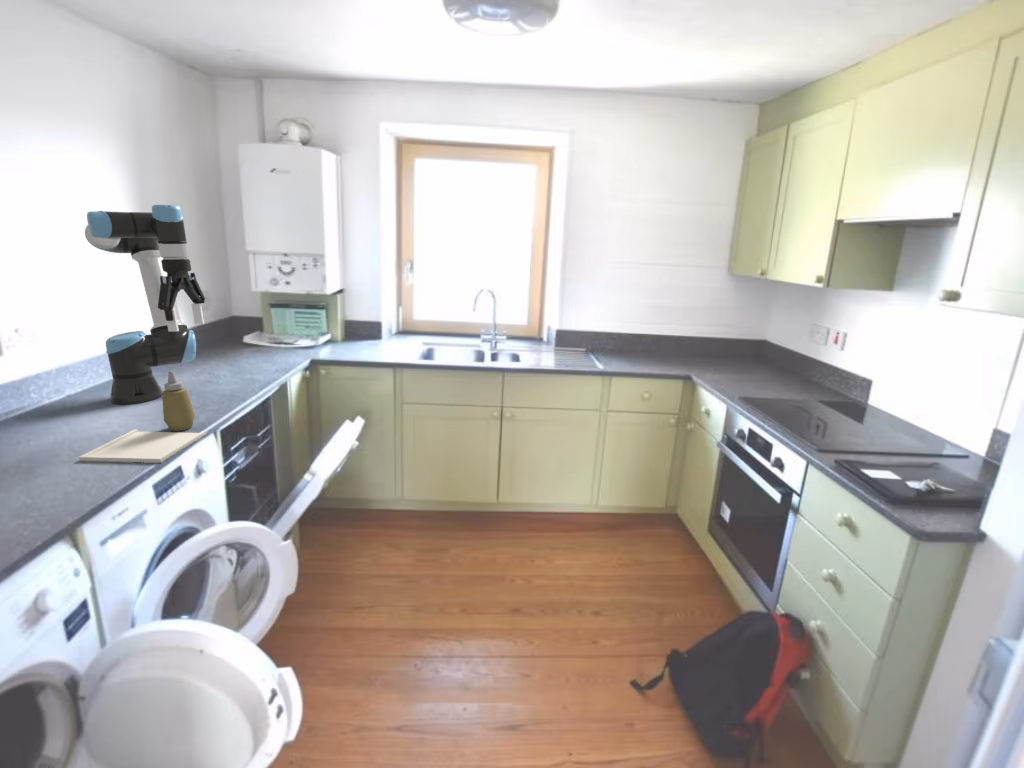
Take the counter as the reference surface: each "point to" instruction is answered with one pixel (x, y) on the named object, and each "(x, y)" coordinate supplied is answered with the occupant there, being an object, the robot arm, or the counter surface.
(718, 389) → the counter surface
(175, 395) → the squeeze bottle
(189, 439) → the tray
